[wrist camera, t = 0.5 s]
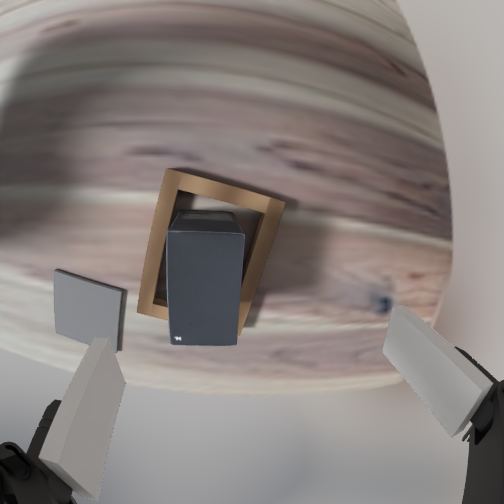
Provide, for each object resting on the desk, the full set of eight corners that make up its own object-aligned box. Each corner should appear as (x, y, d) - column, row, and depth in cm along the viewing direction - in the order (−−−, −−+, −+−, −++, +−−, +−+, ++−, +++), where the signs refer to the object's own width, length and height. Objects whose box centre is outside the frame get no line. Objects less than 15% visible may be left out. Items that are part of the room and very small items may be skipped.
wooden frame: (139, 305, 32) (136, 312, 31) (168, 168, 28) (166, 168, 27) (238, 328, 35) (240, 335, 34) (281, 200, 31) (285, 202, 29)
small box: (230, 297, 34) (239, 349, 24) (177, 295, 33) (167, 347, 23) (236, 211, 31) (249, 234, 21) (178, 208, 30) (162, 230, 20)
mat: (57, 330, 32) (55, 332, 31) (56, 269, 29) (53, 270, 29) (117, 350, 34) (116, 353, 34) (122, 290, 32) (121, 292, 31)
